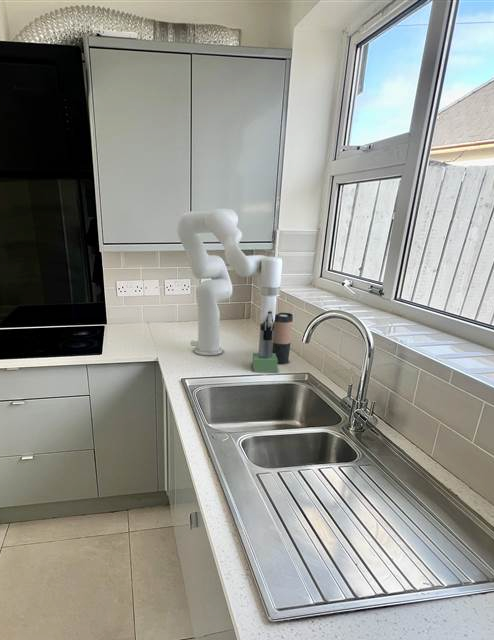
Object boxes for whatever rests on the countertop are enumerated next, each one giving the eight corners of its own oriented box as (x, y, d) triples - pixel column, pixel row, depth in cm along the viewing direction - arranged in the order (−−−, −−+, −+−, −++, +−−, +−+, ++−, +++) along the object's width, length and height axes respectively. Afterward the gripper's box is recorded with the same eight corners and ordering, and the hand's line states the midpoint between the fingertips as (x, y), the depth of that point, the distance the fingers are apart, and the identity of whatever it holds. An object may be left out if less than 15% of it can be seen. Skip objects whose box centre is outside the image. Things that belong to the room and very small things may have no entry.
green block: (253, 371, 160) (254, 359, 158) (252, 364, 168) (253, 352, 166) (276, 372, 159) (277, 360, 157) (274, 364, 167) (275, 353, 166)
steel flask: (256, 357, 161) (258, 325, 156) (260, 353, 165) (262, 322, 160) (270, 359, 158) (272, 326, 154) (273, 355, 163) (276, 323, 158)
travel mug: (288, 364, 167) (293, 317, 160) (270, 363, 169) (273, 316, 161) (288, 358, 174) (292, 312, 167) (270, 357, 176) (274, 312, 168)
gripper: (258, 287, 160) (255, 332, 167) (261, 295, 144) (258, 343, 151) (277, 287, 160) (273, 332, 166) (282, 295, 144) (278, 344, 151)
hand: (266, 337), depth 159 cm, fingers open, 5 cm apart
